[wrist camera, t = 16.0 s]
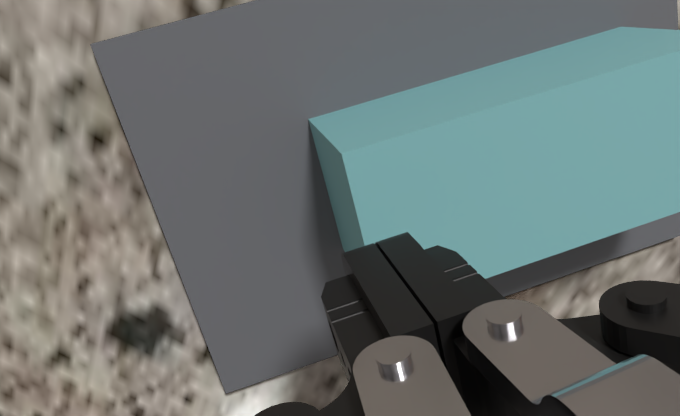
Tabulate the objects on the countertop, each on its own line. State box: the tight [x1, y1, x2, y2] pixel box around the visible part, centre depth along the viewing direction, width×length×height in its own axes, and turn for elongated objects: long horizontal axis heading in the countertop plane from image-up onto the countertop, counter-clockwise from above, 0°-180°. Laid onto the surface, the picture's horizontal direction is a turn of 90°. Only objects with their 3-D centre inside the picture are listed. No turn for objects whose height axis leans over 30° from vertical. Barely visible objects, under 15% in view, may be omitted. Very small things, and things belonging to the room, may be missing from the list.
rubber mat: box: [90, 0, 680, 394], centre depth 20 cm, size 18×12×1 cm, turn 104°
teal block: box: [308, 27, 680, 279], centre depth 18 cm, size 4×4×11 cm
